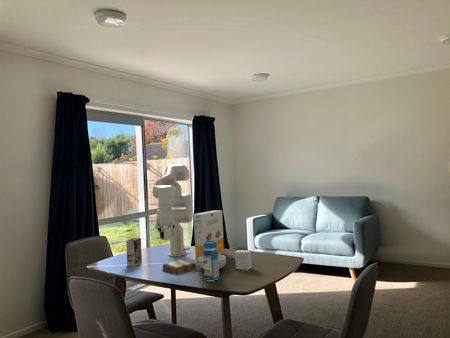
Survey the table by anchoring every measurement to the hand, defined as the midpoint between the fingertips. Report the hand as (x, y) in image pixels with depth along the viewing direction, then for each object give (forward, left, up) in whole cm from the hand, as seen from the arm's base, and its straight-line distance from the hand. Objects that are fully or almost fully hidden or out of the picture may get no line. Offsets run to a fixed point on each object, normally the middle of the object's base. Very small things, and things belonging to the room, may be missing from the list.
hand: (166, 237), depth 218 cm
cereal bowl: (-18, +20, -20) cm, 33 cm away
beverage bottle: (-5, +35, -20) cm, 40 cm away
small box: (-30, +34, -20) cm, 49 cm away
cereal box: (-37, -5, -20) cm, 42 cm away
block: (0, 0, -1) cm, 1 cm away
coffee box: (+6, -29, -20) cm, 35 cm away
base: (-5, +5, -19) cm, 21 cm away
